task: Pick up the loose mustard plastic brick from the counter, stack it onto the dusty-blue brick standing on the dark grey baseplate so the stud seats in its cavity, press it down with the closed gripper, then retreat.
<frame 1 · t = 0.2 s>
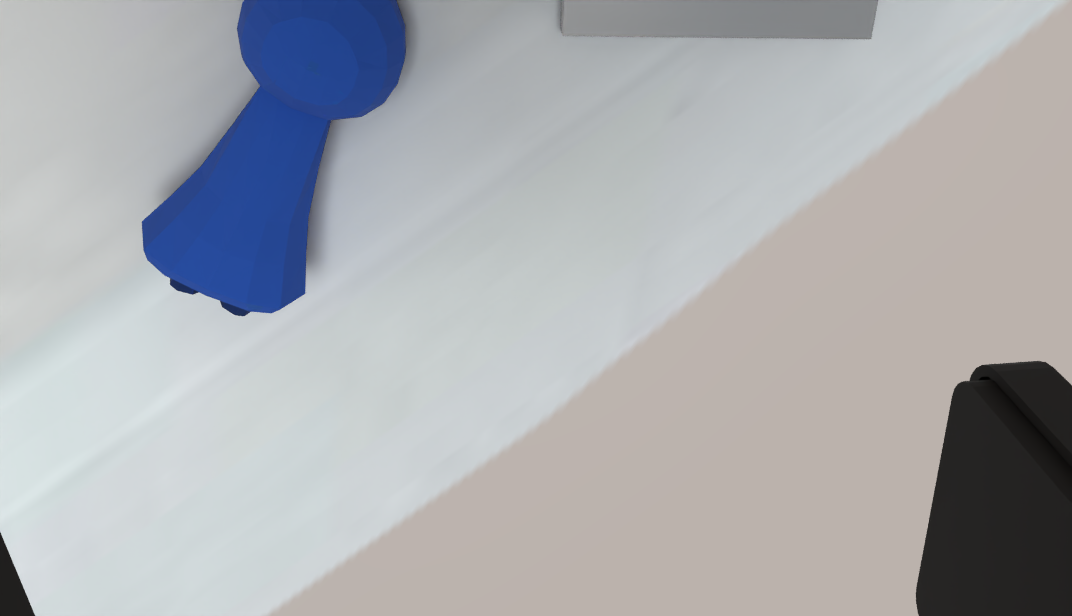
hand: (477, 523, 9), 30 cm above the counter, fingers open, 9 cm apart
toy: (289, 124, 39), on the counter
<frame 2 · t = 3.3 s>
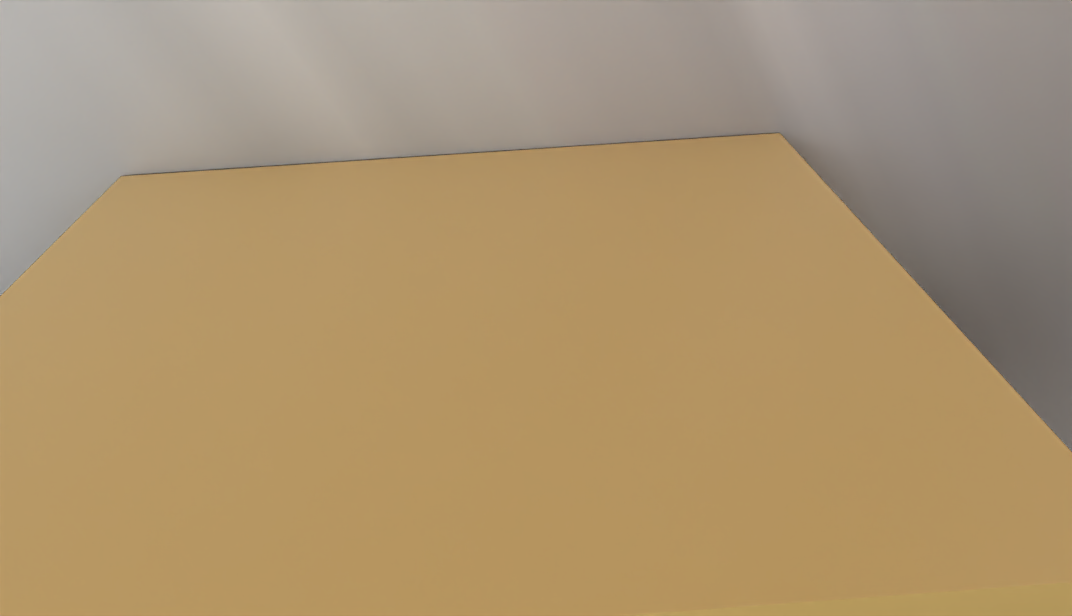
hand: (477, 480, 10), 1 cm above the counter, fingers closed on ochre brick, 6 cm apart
ochre brick: (478, 425, 11), on the counter, touching gripper
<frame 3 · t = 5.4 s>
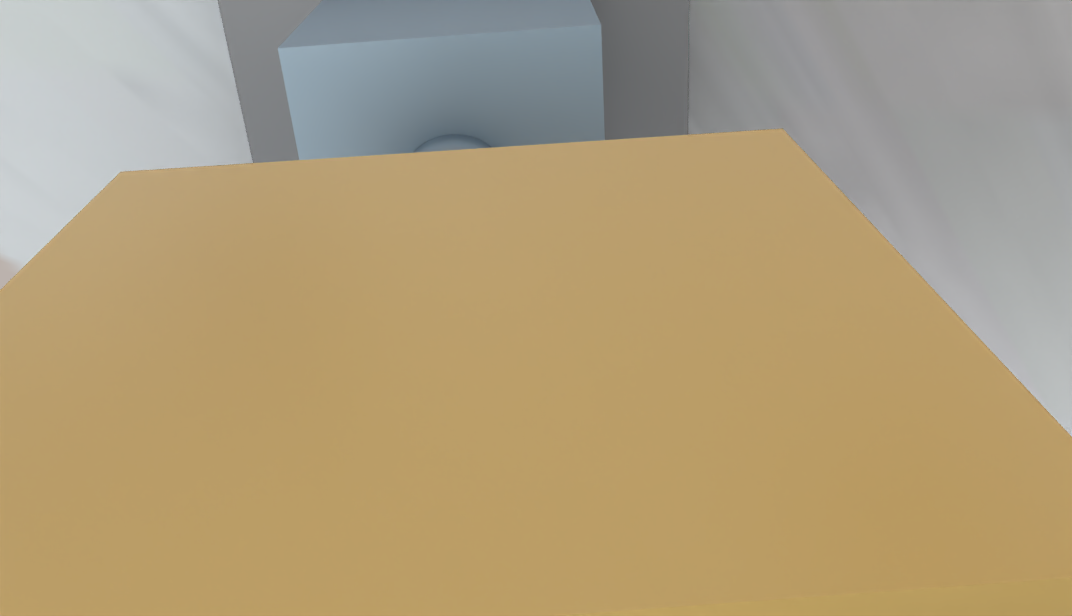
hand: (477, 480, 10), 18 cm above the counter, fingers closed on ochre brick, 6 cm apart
blue brick: (466, 108, 25), point 1 cm above the counter, touching baseplate
ochre brick: (480, 423, 11), point 17 cm above the counter, touching gripper
baseplate: (467, 96, 26), on the counter
when the fingers open (9 cm above the counter, at t = 7.6 s): ochre brick stays where it is, resting on blue brick.
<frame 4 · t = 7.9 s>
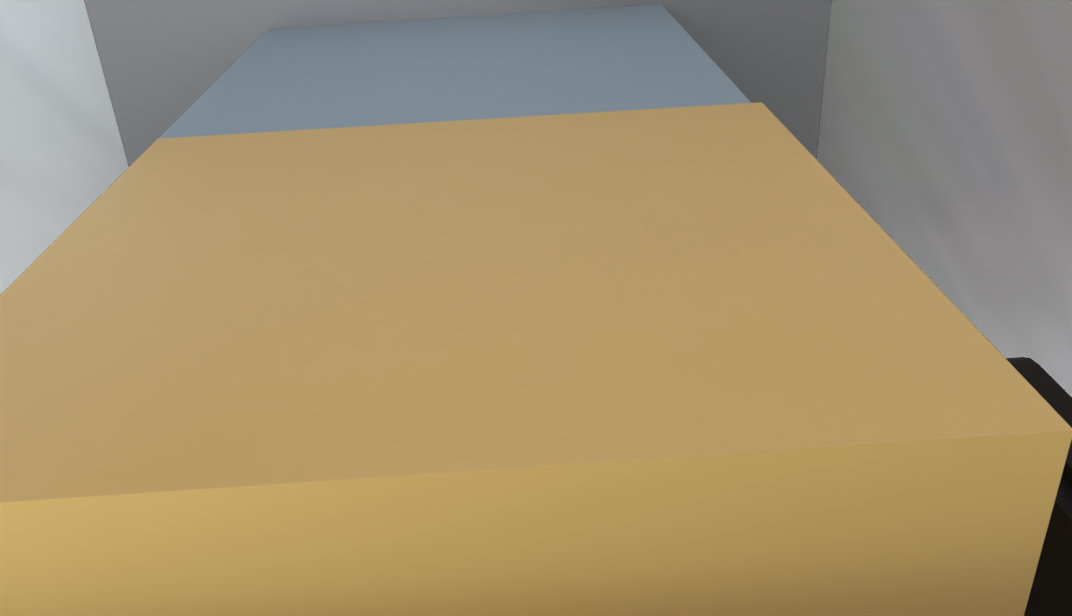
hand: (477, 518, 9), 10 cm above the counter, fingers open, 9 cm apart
blue brick: (481, 200, 17), point 1 cm above the counter, touching baseplate, ochre brick
ochre brick: (483, 376, 11), point 7 cm above the counter, touching blue brick
baseplate: (481, 177, 18), on the counter
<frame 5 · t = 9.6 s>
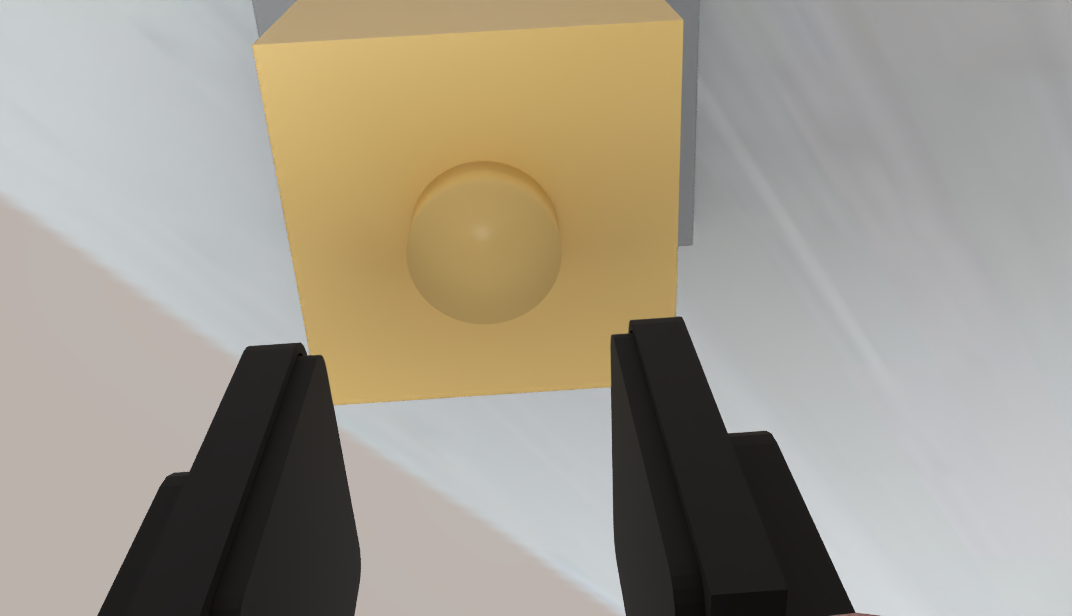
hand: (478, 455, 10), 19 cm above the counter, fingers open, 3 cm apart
ochre brick: (484, 123, 21), point 7 cm above the counter, touching blue brick
baseplate: (483, 52, 27), on the counter
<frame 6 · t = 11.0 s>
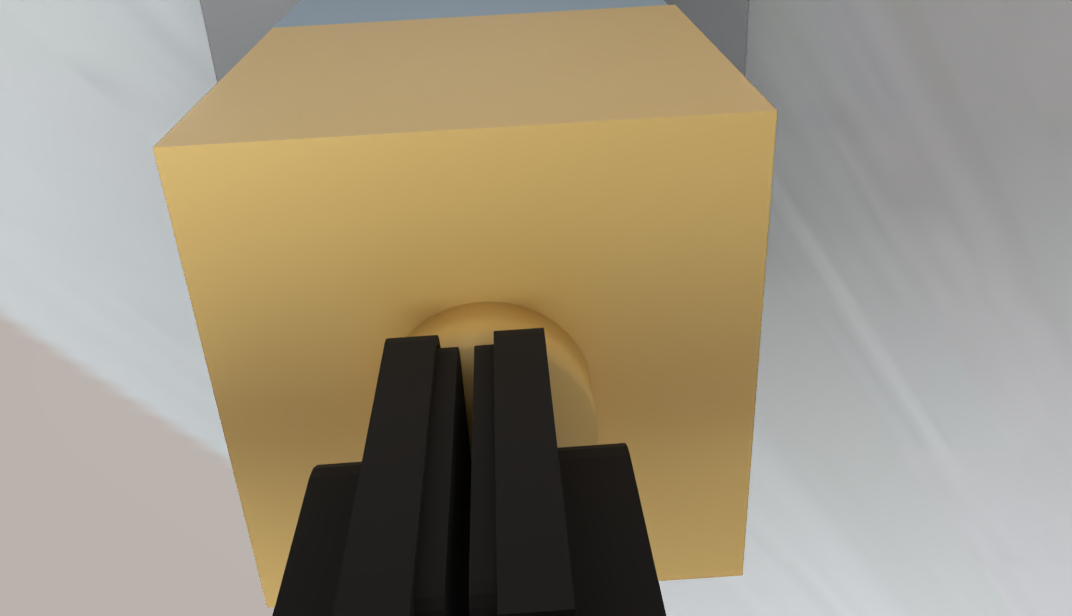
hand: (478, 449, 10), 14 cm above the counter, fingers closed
blue brick: (486, 110, 22), point 1 cm above the counter, touching baseplate, ochre brick
ochre brick: (488, 204, 16), point 7 cm above the counter, touching blue brick, gripper
baseplate: (486, 96, 23), on the counter
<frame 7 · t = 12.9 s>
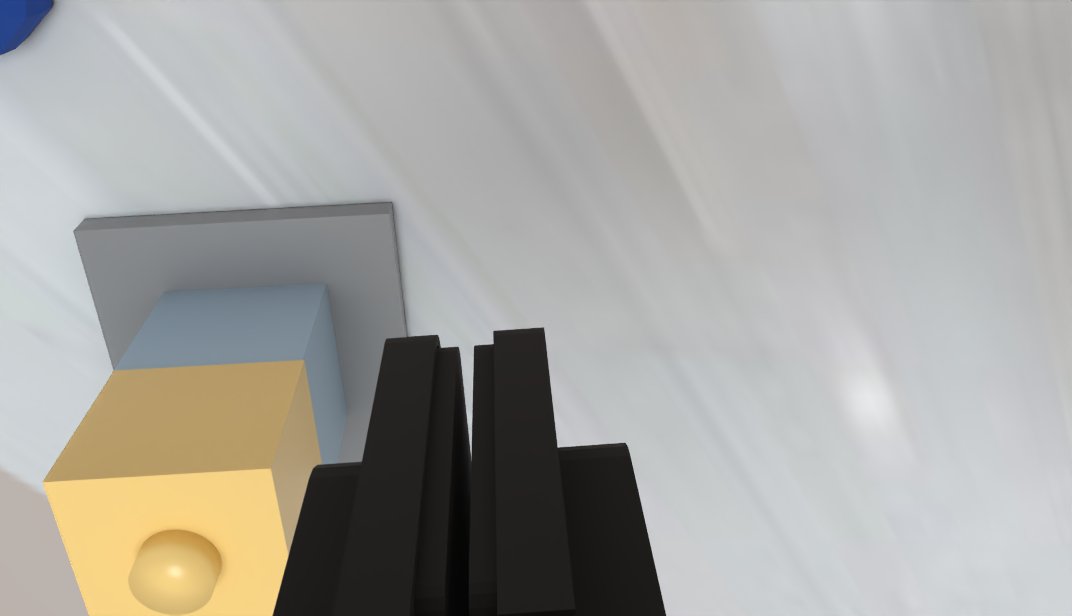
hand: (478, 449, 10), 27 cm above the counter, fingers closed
blue brick: (259, 356, 39), point 1 cm above the counter, touching baseplate, ochre brick
ochre brick: (227, 441, 33), point 7 cm above the counter, touching blue brick
baseplate: (265, 342, 40), on the counter
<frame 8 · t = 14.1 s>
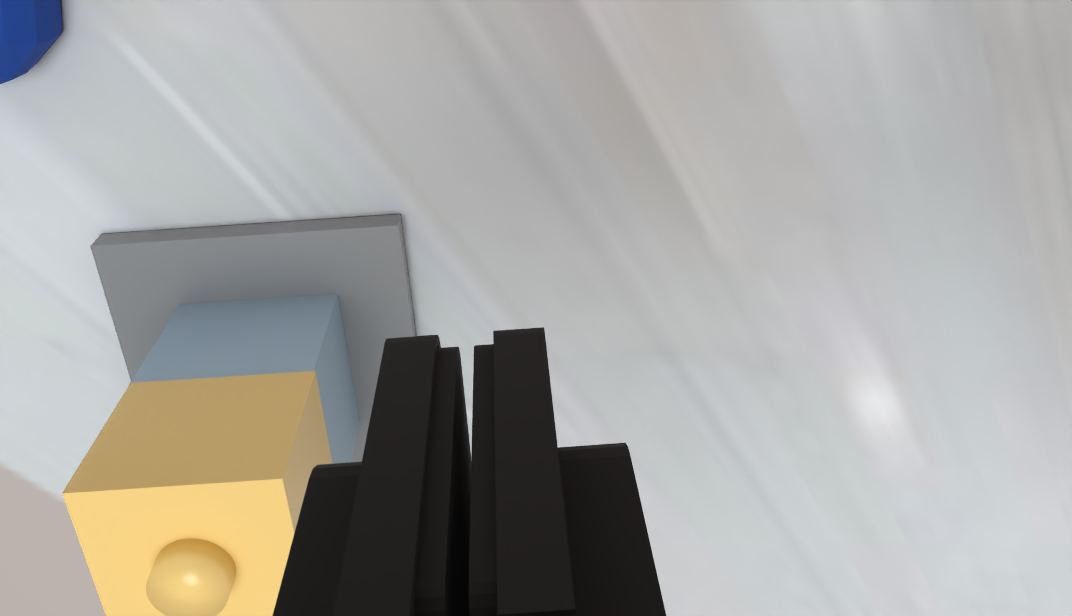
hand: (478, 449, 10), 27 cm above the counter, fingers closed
blue brick: (272, 366, 39), point 1 cm above the counter, touching baseplate, ochre brick
ochre brick: (241, 451, 34), point 7 cm above the counter, touching blue brick
baseplate: (278, 352, 41), on the counter
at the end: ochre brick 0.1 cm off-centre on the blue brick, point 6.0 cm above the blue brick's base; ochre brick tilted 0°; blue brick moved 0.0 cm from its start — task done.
